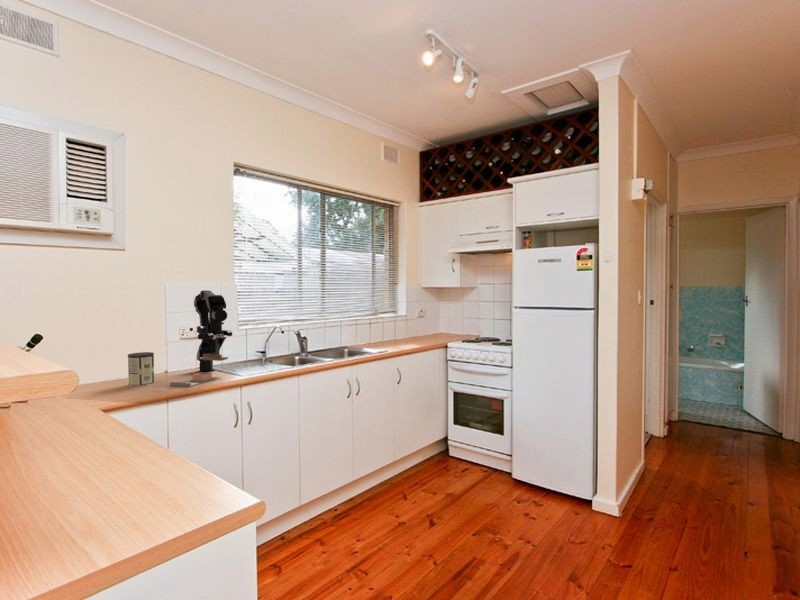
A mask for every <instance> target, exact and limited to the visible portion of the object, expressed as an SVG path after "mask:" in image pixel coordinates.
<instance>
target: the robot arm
mask: <svg viewBox="0 0 800 600" xmlns="http://www.w3.org/2000/svg"><path fill="white" fill-rule="evenodd" d="M193 306H194V308H195V312H196V314H198V316H199V325H198V326H197V327H196V333H198V335H197V340H201V342H200V344H199V346H198V349H197V353H196V360H197V361H199V370H197V371H198V373H201V372H204V373H211V372H214V371H213V370H214V363H213V361H214V360H203V354H212V352H213V353H215V351H216V347H217V343H219V348H220V349H221V348H222V346H223V344H224V342H225V340H226V339H227V337H232V336H233V331H232V330H229V329H226V330H225V329H223V326H222V325H224V324H225V323H224V322H225V320H227V318H228V313H227V311H226V310H224V309H226V308H227V302H226V299H225V297H224V296H223V295H222V294H215V293H213V292H212V290H200V292H199V294H197V295H196V296H195V297H194V300H193ZM225 336H227V337H225ZM210 371H211V372H210Z"/></svg>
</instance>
